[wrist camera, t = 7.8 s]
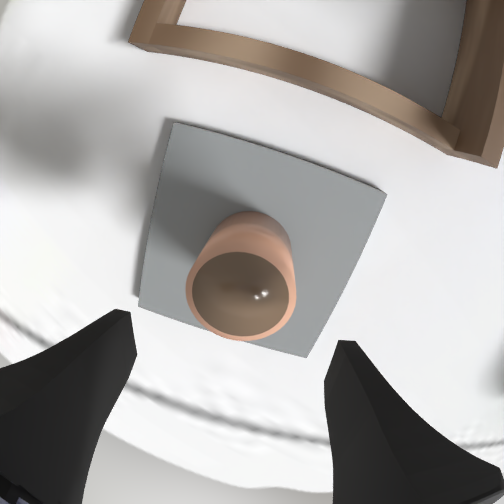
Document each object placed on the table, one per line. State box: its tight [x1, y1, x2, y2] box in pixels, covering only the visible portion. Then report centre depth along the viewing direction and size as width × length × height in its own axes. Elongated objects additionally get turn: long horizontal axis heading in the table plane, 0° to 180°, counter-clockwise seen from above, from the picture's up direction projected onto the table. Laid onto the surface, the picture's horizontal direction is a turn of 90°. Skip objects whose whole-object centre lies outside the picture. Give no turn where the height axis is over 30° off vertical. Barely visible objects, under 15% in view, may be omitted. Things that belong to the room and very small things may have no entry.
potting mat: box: [138, 123, 387, 358], centre depth 18 cm, size 12×12×1 cm
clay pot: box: [185, 211, 296, 341], centre depth 15 cm, size 5×5×5 cm
